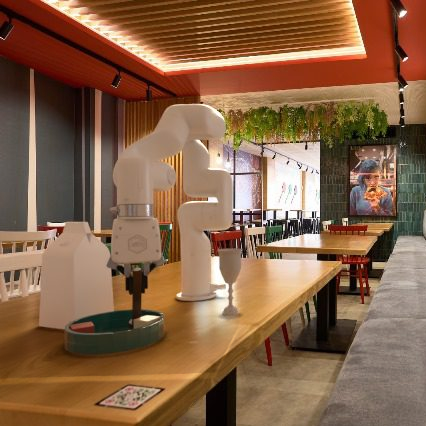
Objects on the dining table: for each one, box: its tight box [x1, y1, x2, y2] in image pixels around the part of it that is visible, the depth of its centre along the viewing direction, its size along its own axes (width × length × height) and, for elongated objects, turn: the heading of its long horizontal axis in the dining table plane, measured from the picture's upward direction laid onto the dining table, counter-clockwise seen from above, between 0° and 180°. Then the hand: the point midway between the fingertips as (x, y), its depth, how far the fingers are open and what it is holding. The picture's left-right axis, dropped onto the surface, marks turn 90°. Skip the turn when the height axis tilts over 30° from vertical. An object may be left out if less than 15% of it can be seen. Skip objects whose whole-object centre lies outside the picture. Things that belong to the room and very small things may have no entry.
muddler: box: [129, 267, 143, 329], centre depth 91 cm, size 3×3×14 cm
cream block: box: [134, 315, 161, 329], centre depth 90 cm, size 4×4×4 cm
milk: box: [38, 221, 115, 330], centre depth 101 cm, size 12×12×26 cm
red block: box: [70, 322, 94, 333], centre depth 84 cm, size 4×4×4 cm
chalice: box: [217, 248, 244, 317], centre depth 108 cm, size 7×7×18 cm
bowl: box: [63, 308, 166, 355], centre depth 88 cm, size 20×20×4 cm
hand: (136, 292), depth 91 cm, fingers closed on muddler
